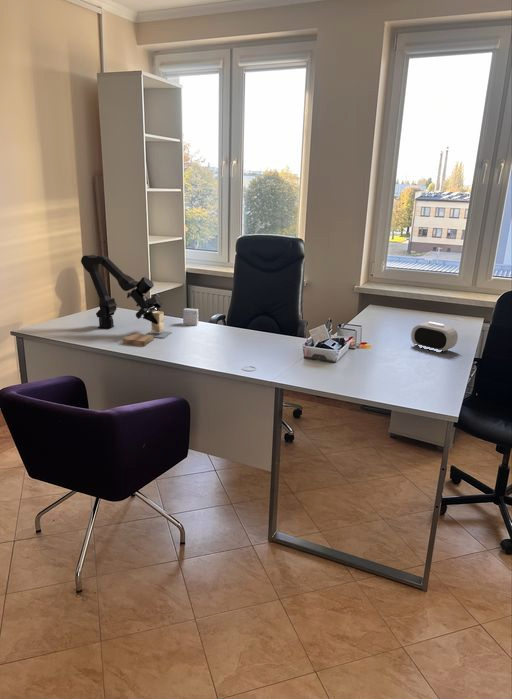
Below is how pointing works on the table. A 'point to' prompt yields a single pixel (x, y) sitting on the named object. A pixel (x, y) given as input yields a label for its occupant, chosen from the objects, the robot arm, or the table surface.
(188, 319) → the medicine box
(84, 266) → the robot arm
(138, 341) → the walnut shelf block
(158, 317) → the birch blank
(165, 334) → the slate mat
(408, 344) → the table surface
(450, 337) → the alarm clock
